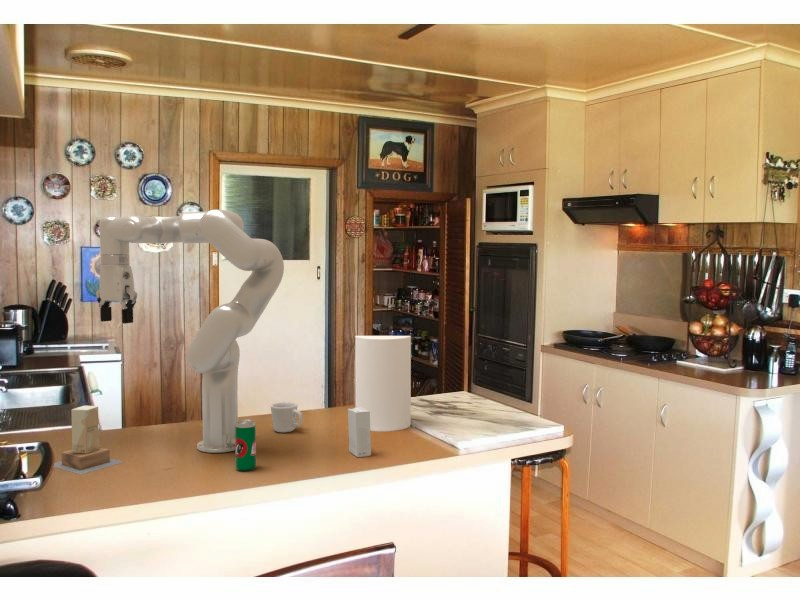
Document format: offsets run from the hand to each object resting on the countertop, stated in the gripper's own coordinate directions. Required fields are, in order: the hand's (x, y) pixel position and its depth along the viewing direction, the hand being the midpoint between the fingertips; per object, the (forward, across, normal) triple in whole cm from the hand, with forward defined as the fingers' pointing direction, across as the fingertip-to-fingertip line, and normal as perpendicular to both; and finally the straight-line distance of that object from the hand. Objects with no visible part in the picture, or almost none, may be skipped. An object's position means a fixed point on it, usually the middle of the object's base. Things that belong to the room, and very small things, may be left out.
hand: (116, 322), depth 198 cm
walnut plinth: (+34, -13, +19) cm, 41 cm away
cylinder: (+34, -51, -58) cm, 85 cm away
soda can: (+34, -48, -2) cm, 59 cm away
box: (+31, -13, +19) cm, 38 cm away
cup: (+34, -32, -35) cm, 59 cm away
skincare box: (+34, -64, -28) cm, 78 cm away
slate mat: (+34, -13, +19) cm, 41 cm away
